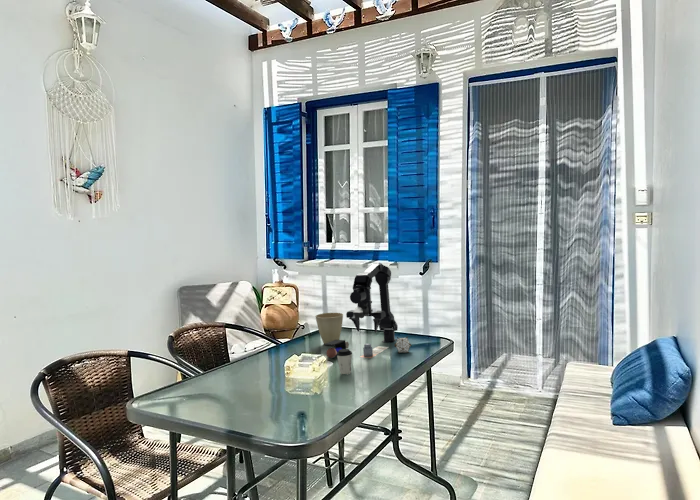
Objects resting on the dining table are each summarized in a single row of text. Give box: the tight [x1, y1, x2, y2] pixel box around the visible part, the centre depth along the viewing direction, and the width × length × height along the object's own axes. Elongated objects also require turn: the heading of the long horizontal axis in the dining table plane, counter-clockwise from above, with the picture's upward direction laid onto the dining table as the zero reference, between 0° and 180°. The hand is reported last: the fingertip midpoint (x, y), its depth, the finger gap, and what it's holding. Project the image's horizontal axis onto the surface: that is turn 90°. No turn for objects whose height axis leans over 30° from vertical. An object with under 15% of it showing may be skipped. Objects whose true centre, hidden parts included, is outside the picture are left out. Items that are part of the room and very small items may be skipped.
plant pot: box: [315, 312, 344, 344], centre depth 270 cm, size 15×15×16 cm
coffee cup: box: [336, 348, 353, 375], centre depth 216 cm, size 7×7×10 cm
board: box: [359, 345, 389, 359], centre depth 246 cm, size 22×9×1 cm, turn 151°
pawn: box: [362, 343, 373, 357], centre depth 240 cm, size 4×4×6 cm
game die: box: [394, 336, 412, 354], centre depth 242 cm, size 9×8×10 cm
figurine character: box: [322, 339, 350, 359], centre depth 247 cm, size 7×8×15 cm
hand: (367, 331), depth 240 cm, fingers open, 9 cm apart
